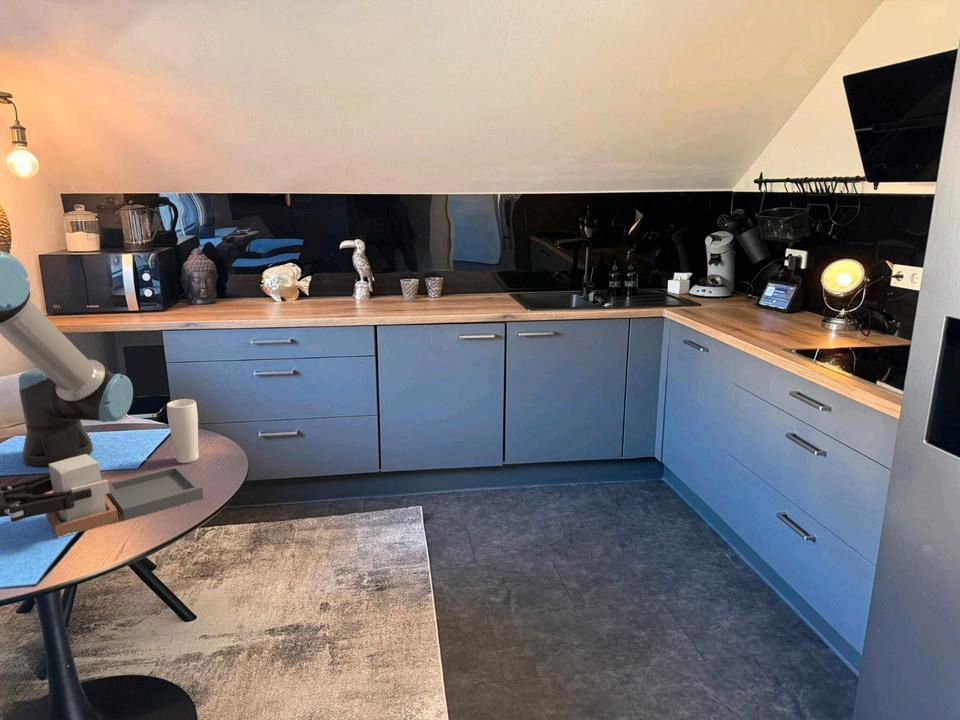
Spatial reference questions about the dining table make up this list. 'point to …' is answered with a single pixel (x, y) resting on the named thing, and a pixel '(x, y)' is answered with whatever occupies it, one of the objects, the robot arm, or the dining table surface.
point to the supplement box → (77, 485)
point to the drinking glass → (184, 429)
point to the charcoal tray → (153, 492)
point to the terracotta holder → (84, 520)
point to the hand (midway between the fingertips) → (103, 479)
